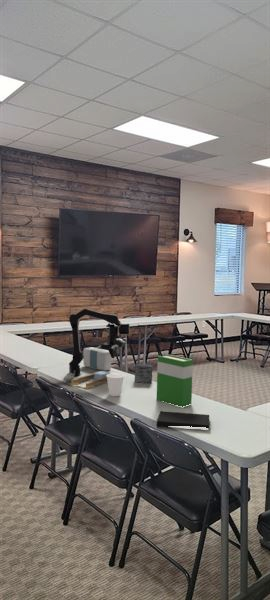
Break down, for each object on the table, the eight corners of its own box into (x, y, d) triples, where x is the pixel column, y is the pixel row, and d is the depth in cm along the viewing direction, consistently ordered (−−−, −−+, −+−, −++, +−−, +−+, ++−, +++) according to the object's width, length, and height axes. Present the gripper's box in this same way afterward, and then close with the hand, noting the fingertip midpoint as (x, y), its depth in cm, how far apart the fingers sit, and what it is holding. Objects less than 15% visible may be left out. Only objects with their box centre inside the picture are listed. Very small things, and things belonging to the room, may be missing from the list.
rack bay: (69, 385, 264) (69, 380, 263) (96, 376, 284) (96, 372, 284) (86, 389, 256) (86, 384, 256) (113, 380, 277) (113, 375, 277)
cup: (126, 394, 249) (127, 374, 248) (118, 398, 240) (119, 378, 239) (111, 391, 253) (111, 372, 252) (102, 396, 244) (103, 376, 243)
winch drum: (64, 382, 270) (65, 369, 269) (69, 380, 273) (70, 368, 273) (72, 384, 266) (72, 371, 266) (77, 382, 270) (77, 370, 269)
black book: (160, 416, 214) (160, 410, 214) (209, 420, 210) (209, 414, 210) (156, 427, 200) (156, 420, 200) (209, 432, 196) (209, 425, 196)
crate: (93, 380, 278) (94, 372, 277) (101, 377, 283) (101, 370, 283) (102, 382, 273) (102, 374, 273) (109, 379, 279) (109, 372, 278)
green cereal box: (156, 400, 239) (157, 355, 237) (165, 397, 244) (166, 354, 243) (182, 408, 227) (183, 361, 225) (191, 405, 232) (192, 359, 230)
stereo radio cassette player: (82, 366, 311) (83, 338, 310) (91, 364, 318) (91, 337, 316) (104, 372, 298) (104, 342, 296) (112, 370, 304) (113, 341, 302)
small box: (152, 381, 278) (152, 364, 277) (151, 383, 271) (152, 366, 271) (135, 380, 279) (135, 363, 278) (134, 383, 272) (134, 366, 272)
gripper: (114, 337, 273) (114, 362, 274) (132, 333, 288) (131, 357, 289) (100, 335, 279) (99, 359, 280) (118, 331, 294) (117, 355, 296)
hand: (112, 358), depth 286 cm, fingers closed
